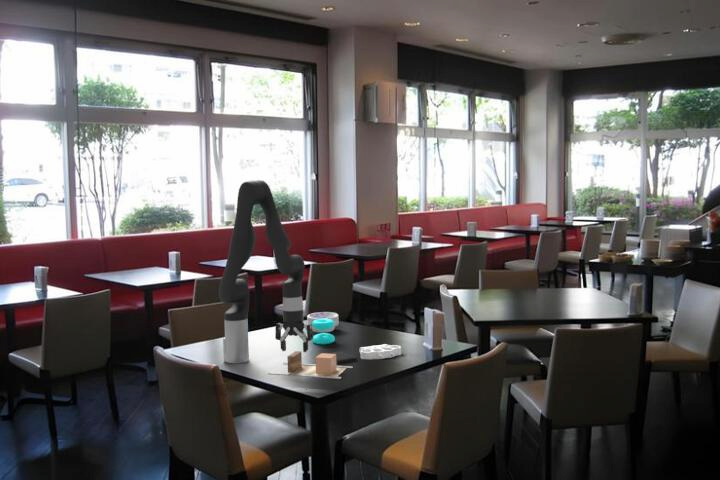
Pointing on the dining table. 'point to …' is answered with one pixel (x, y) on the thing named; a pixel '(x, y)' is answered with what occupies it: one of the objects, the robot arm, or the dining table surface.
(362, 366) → the dining table surface
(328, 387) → the dining table surface
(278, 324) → the robot arm
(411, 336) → the dining table surface
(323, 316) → the clear glass round bowl
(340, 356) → the carrying case or bag
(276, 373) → the rails
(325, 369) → the block
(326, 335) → the donuts
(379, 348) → the white brass knuckles
